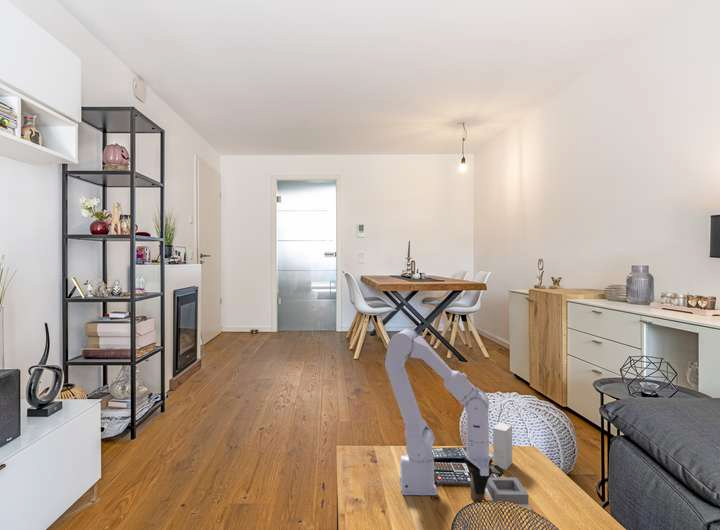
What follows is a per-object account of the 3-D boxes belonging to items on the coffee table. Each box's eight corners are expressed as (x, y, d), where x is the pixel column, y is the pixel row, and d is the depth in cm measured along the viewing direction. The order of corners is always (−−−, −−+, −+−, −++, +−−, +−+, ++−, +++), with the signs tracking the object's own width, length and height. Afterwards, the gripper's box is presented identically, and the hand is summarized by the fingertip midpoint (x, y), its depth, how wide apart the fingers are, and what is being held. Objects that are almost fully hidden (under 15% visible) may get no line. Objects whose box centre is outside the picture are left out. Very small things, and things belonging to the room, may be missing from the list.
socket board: (495, 511, 107) (495, 498, 107) (483, 486, 119) (483, 474, 119) (531, 512, 107) (531, 498, 107) (515, 486, 119) (515, 474, 119)
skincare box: (499, 459, 136) (498, 421, 136) (512, 462, 133) (512, 424, 133) (492, 466, 131) (492, 427, 131) (506, 470, 128) (506, 431, 128)
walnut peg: (472, 502, 111) (472, 475, 111) (469, 494, 115) (469, 469, 115) (486, 502, 111) (486, 475, 111) (482, 494, 115) (482, 469, 115)
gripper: (501, 450, 106) (501, 505, 106) (485, 428, 120) (485, 475, 120) (472, 450, 106) (472, 504, 106) (460, 427, 120) (460, 475, 121)
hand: (477, 489), depth 113 cm, fingers closed on walnut peg, 4 cm apart
